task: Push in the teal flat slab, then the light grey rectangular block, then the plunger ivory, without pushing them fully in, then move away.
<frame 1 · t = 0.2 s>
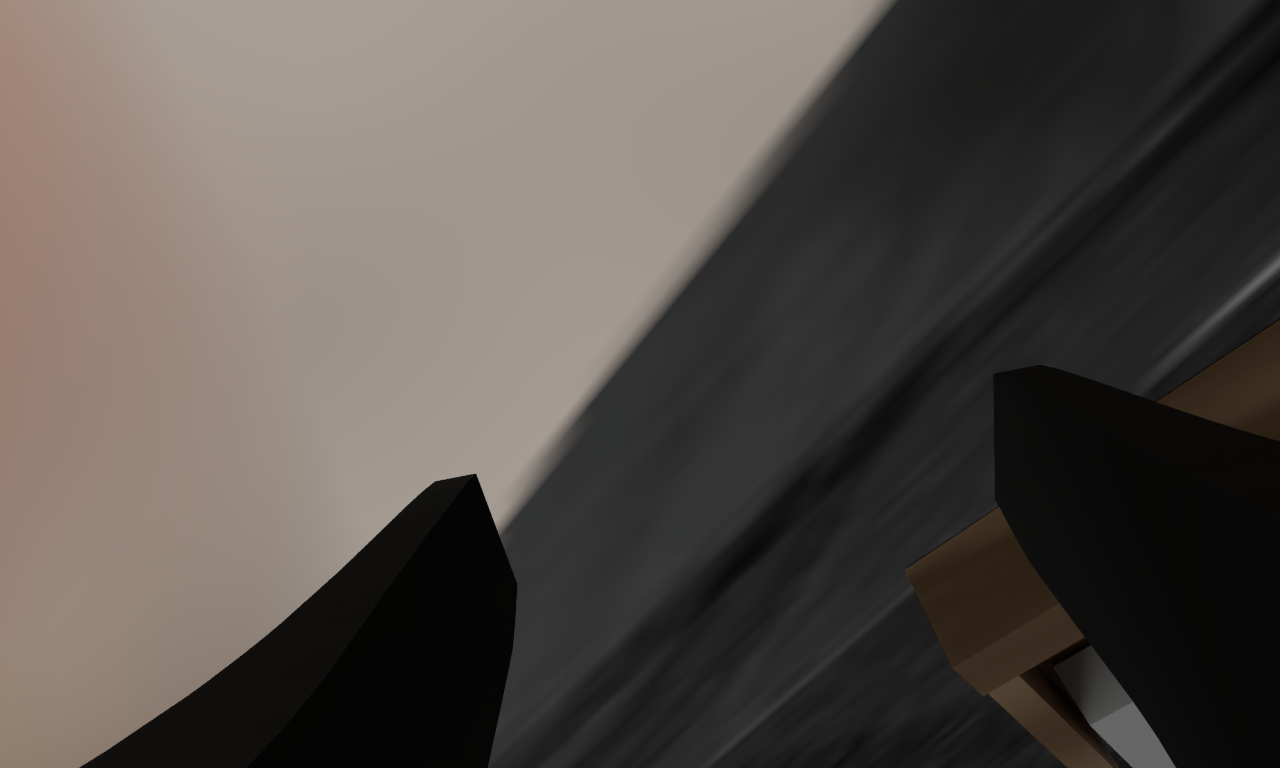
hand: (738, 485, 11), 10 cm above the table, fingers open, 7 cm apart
walnut key block: (1208, 508, 23), on the table
light grey rectangular block: (1179, 733, 24), point 2 cm above the table, slide at 0.0 cm
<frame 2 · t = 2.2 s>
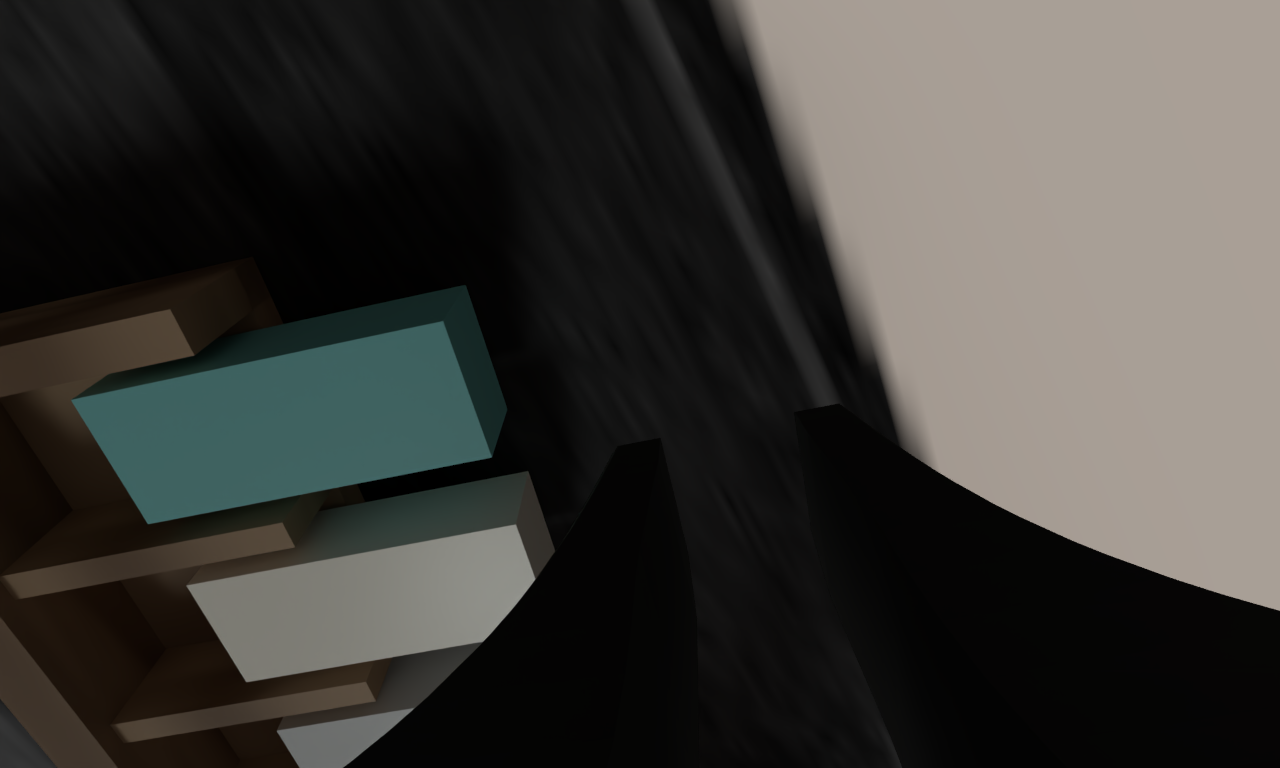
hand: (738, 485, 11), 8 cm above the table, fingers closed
walnut key block: (244, 553, 21), on the table
teal flat slab: (306, 404, 17), point 2 cm above the table, slide at 0.0 cm
plunger ivory: (386, 577, 19), point 2 cm above the table, slide at 0.0 cm
light grey rectangular block: (451, 713, 21), point 2 cm above the table, slide at 0.0 cm
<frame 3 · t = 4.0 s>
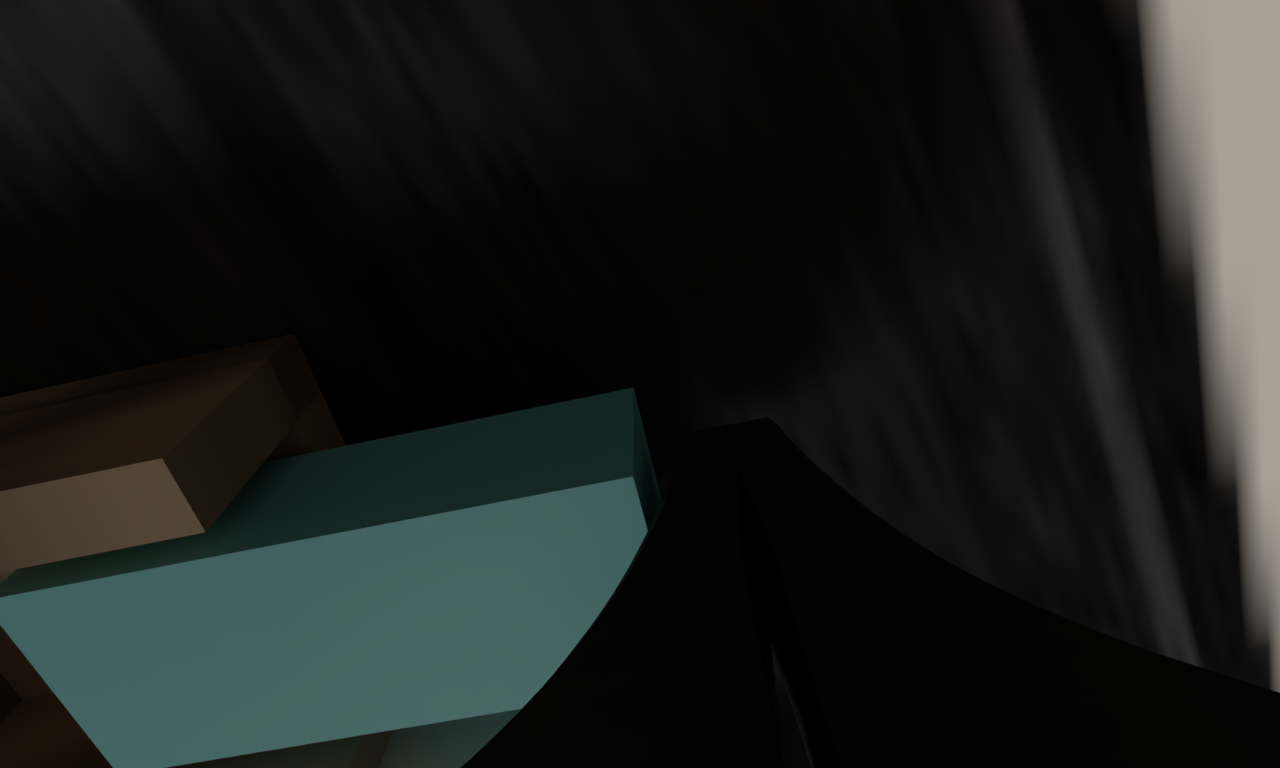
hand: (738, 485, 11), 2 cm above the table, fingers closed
walnut key block: (273, 738, 15), on the table
teal flat slab: (374, 582, 10), point 2 cm above the table, slide at 0.2 cm, touching gripper
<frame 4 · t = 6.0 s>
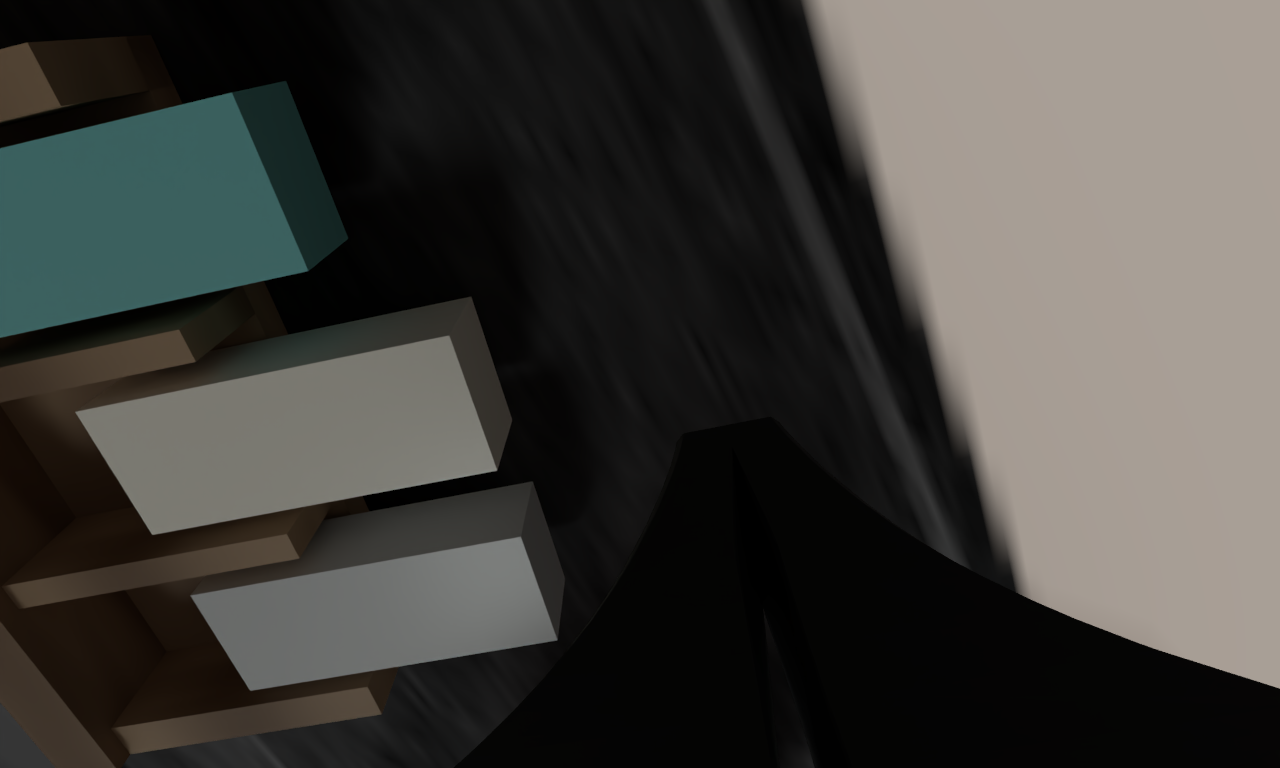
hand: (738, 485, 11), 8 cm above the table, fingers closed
walnut key block: (161, 408, 19), on the table
teal flat slab: (105, 217, 15), point 2 cm above the table, slide at 2.2 cm
plunger ivory: (311, 416, 17), point 2 cm above the table, slide at 0.0 cm
light grey rectangular block: (390, 586, 19), point 2 cm above the table, slide at 0.0 cm
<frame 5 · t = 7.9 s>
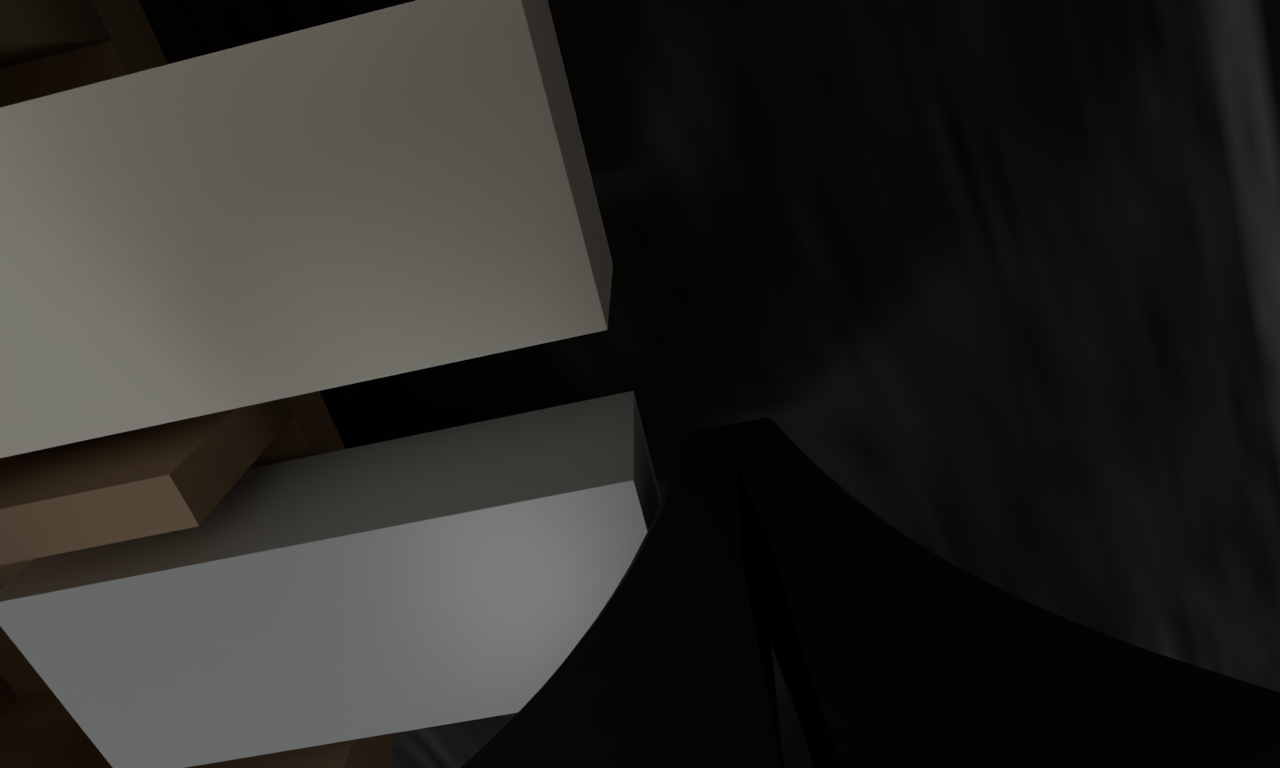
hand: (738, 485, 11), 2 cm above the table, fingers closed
plunger ivory: (218, 233, 8), point 2 cm above the table, slide at 0.0 cm
light grey rectangular block: (375, 585, 10), point 2 cm above the table, slide at 0.2 cm, touching gripper
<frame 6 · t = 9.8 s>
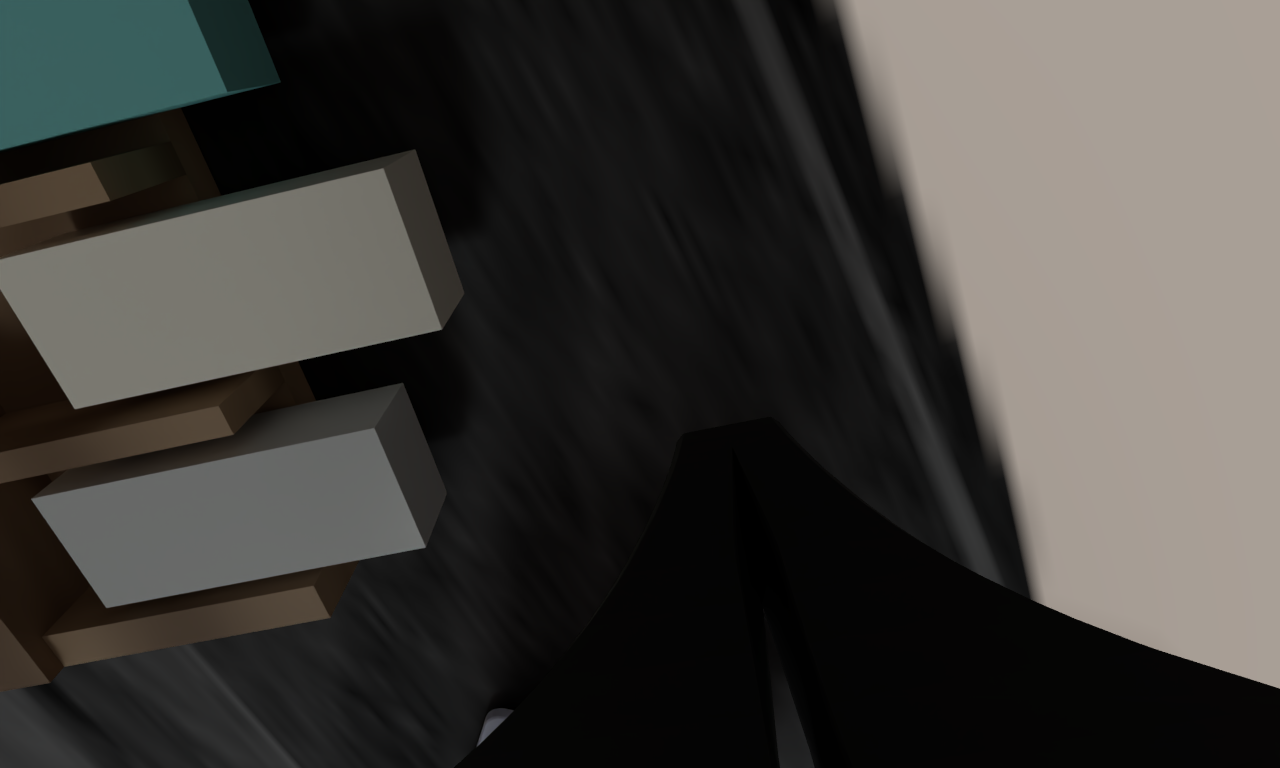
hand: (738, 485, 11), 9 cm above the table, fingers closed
walnut key block: (95, 294, 18), on the table
teal flat slab: (12, 46, 14), point 2 cm above the table, slide at 2.2 cm
plunger ivory: (244, 279, 16), point 2 cm above the table, slide at 0.0 cm
light grey rectangular block: (254, 495, 18), point 2 cm above the table, slide at 2.1 cm
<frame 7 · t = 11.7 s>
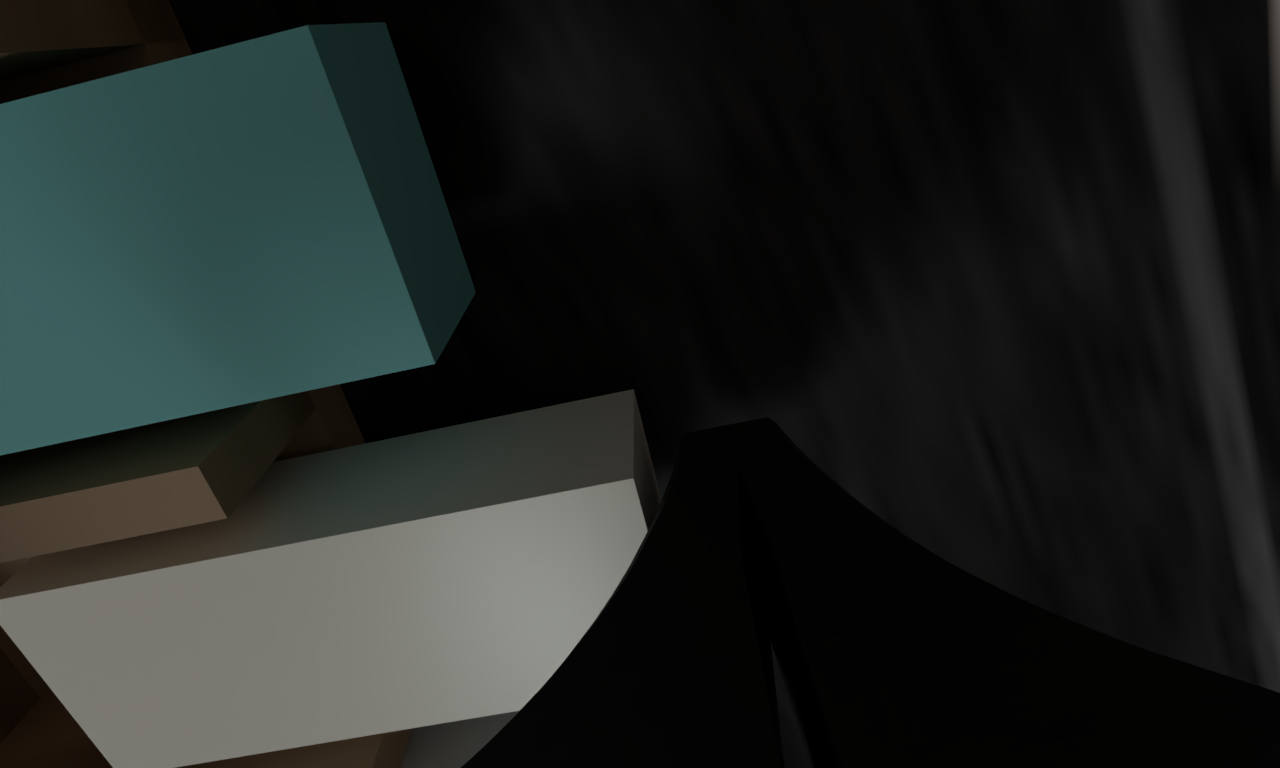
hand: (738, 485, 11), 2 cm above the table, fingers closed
walnut key block: (166, 538, 13), on the table
teal flat slab: (66, 266, 8), point 2 cm above the table, slide at 2.2 cm
plunger ivory: (375, 584, 10), point 2 cm above the table, slide at 0.5 cm, touching gripper
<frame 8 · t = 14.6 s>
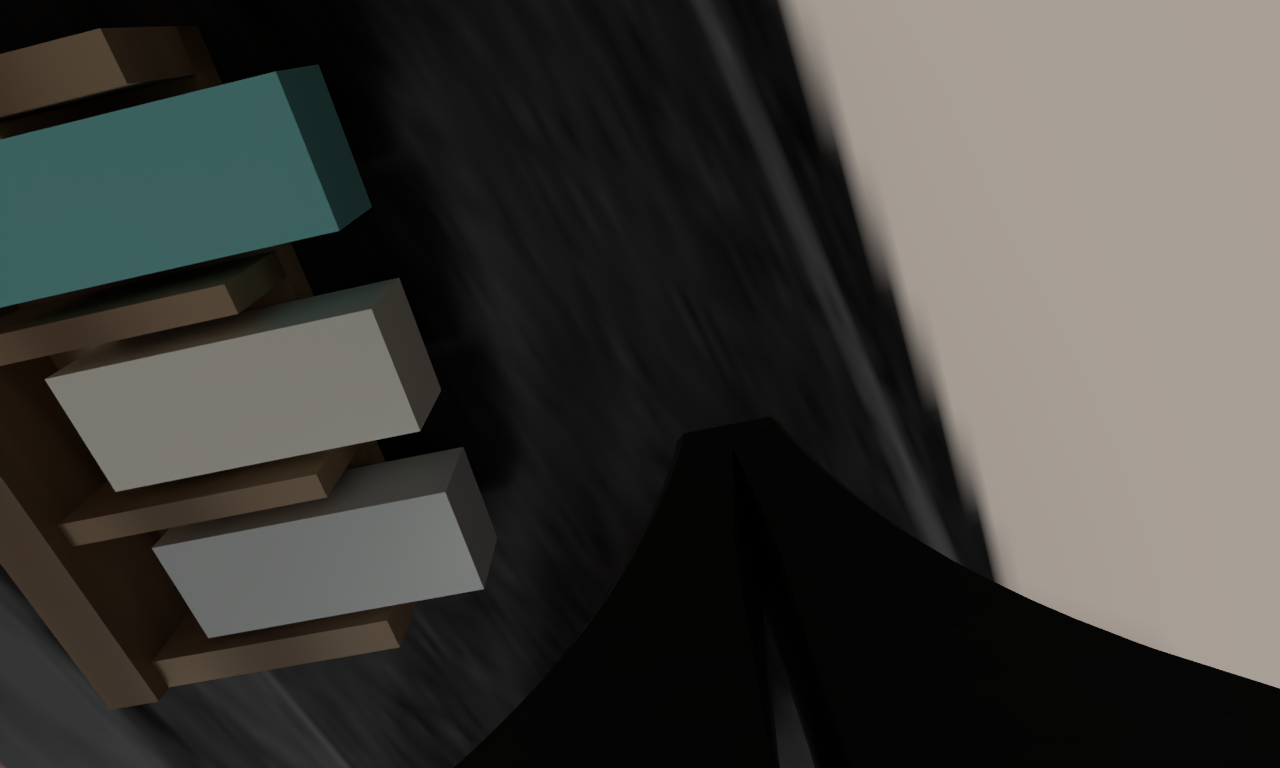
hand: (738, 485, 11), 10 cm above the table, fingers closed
walnut key block: (198, 368, 21), on the table
teal flat slab: (158, 186, 17), point 2 cm above the table, slide at 2.2 cm
plunger ivory: (256, 385, 19), point 2 cm above the table, slide at 2.1 cm
light grey rectangular block: (335, 542, 21), point 2 cm above the table, slide at 2.1 cm
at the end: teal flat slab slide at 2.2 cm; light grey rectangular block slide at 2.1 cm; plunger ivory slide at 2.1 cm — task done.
